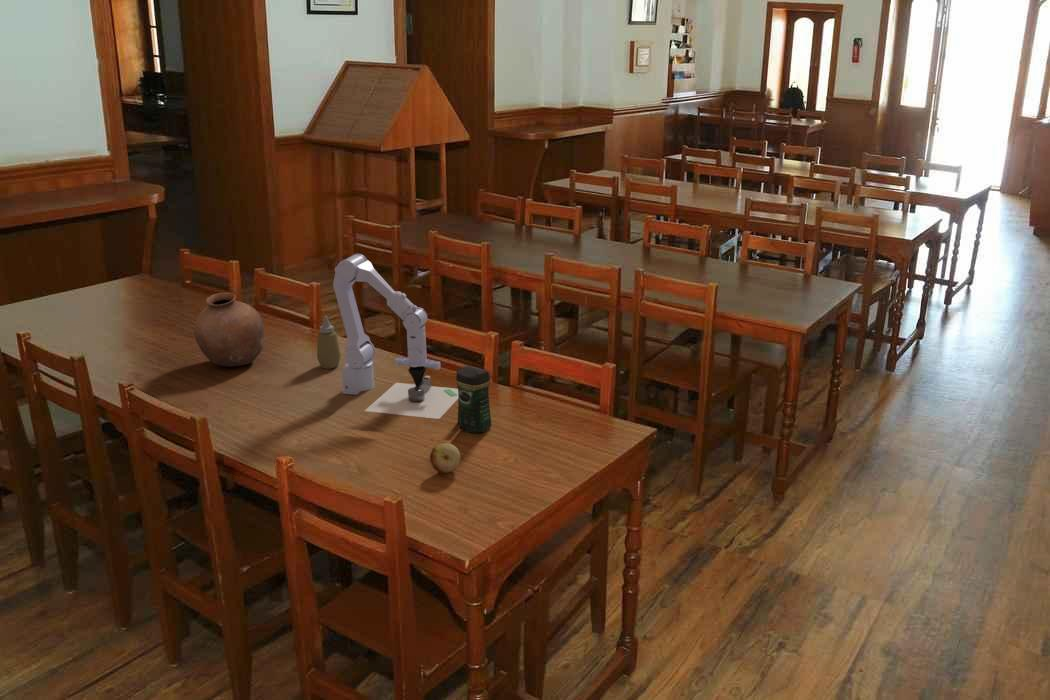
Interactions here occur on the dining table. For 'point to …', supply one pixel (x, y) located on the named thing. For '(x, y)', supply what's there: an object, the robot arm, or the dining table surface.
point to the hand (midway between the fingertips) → (418, 388)
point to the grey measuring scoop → (419, 390)
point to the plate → (430, 407)
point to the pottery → (229, 331)
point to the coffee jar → (473, 399)
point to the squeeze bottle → (328, 346)
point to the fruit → (445, 457)
